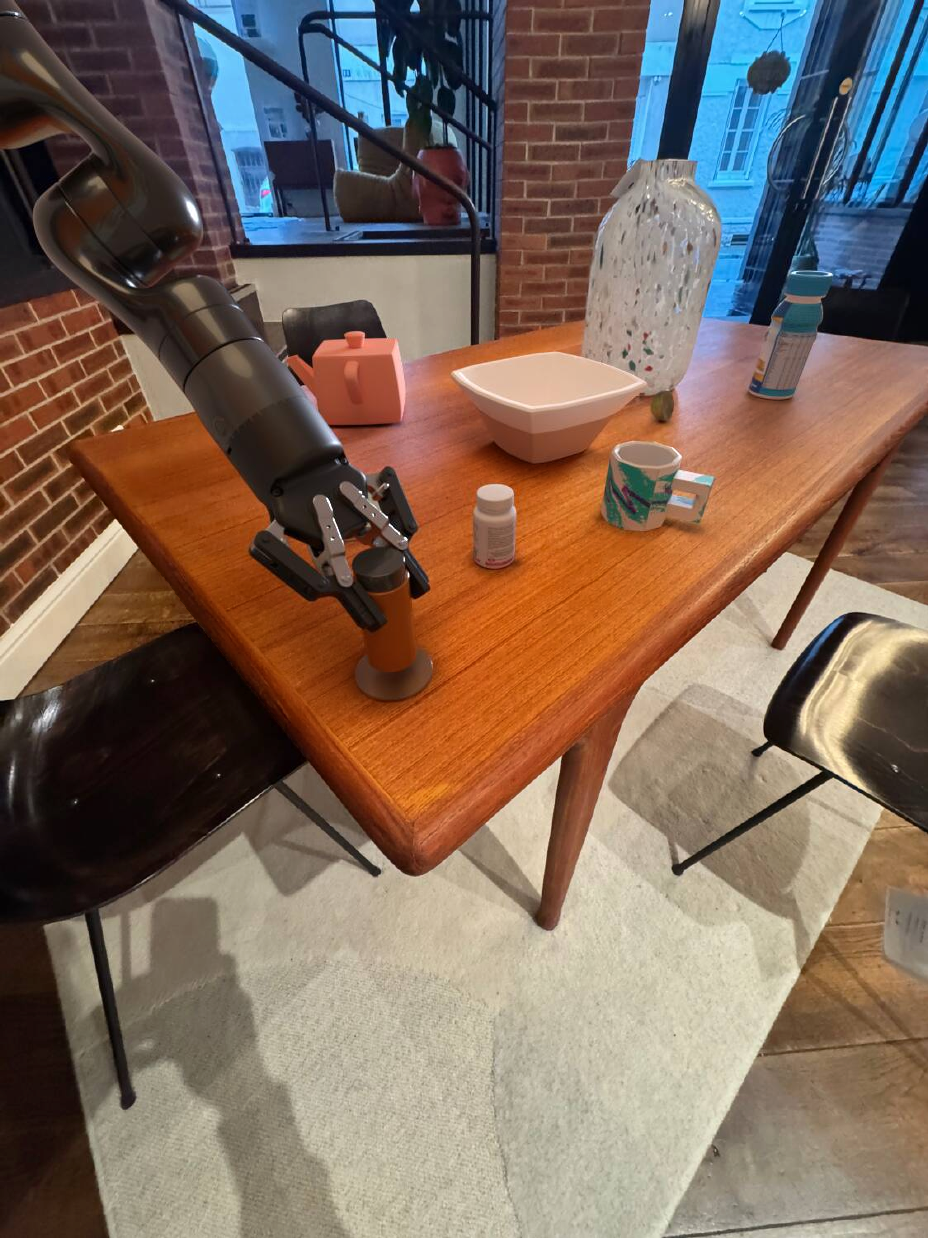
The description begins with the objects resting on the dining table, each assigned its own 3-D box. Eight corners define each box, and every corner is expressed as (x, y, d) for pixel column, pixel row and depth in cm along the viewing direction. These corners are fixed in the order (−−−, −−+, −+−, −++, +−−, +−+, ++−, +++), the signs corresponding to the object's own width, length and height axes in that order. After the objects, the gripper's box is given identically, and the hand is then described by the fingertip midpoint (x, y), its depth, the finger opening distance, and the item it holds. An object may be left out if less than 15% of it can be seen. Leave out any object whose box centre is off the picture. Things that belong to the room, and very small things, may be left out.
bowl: (648, 452, 83) (663, 382, 76) (521, 491, 73) (525, 415, 66) (554, 409, 98) (559, 347, 91) (439, 437, 89) (436, 371, 82)
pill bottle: (521, 554, 61) (525, 488, 56) (501, 574, 58) (504, 506, 53) (486, 543, 63) (487, 478, 58) (465, 562, 60) (464, 495, 55)
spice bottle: (374, 679, 44) (356, 584, 37) (361, 645, 47) (342, 552, 40) (424, 664, 45) (414, 569, 38) (408, 632, 48) (397, 540, 42)
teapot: (408, 395, 106) (402, 317, 97) (402, 436, 90) (393, 347, 81) (311, 398, 106) (295, 320, 97) (286, 440, 89) (264, 351, 80)
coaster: (366, 712, 44) (365, 709, 44) (347, 658, 49) (346, 655, 48) (444, 687, 46) (443, 684, 45) (418, 637, 51) (418, 634, 50)
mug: (613, 495, 72) (624, 435, 67) (704, 515, 67) (723, 453, 62) (593, 522, 67) (603, 459, 61) (690, 546, 62) (710, 480, 57)
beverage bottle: (775, 403, 98) (820, 278, 85) (737, 391, 104) (774, 272, 91) (803, 395, 101) (851, 273, 88) (765, 384, 107) (804, 268, 94)
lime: (670, 414, 95) (677, 385, 92) (675, 424, 92) (683, 394, 88) (645, 414, 96) (651, 385, 92) (649, 423, 92) (656, 394, 89)
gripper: (323, 424, 46) (436, 582, 48) (171, 485, 38) (316, 673, 40) (356, 369, 40) (482, 553, 42) (184, 427, 32) (353, 652, 34)
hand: (401, 610), depth 41 cm, fingers closed on spice bottle, 4 cm apart
